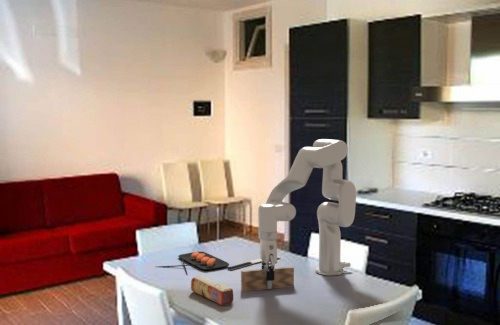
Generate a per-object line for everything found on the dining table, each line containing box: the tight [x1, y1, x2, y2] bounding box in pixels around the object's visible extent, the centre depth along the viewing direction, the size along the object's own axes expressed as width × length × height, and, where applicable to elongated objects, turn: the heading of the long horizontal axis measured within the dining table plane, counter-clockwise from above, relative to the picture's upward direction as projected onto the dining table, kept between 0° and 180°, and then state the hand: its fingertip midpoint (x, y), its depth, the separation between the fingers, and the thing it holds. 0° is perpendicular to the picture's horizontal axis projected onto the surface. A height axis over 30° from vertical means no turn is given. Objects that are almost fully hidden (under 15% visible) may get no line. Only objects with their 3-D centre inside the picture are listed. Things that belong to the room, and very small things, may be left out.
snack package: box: [190, 274, 234, 307], centre depth 206 cm, size 21×7×7 cm, turn 39°
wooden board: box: [240, 266, 295, 292], centre depth 216 cm, size 22×2×8 cm, turn 104°
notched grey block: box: [264, 265, 273, 290], centre depth 216 cm, size 6×2×8 cm, turn 14°
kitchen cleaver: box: [227, 255, 281, 271], centre depth 253 cm, size 31×2×10 cm
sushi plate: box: [156, 251, 230, 276], centre depth 249 cm, size 29×30×4 cm
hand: (267, 277), depth 216 cm, fingers closed on notched grey block, 6 cm apart
